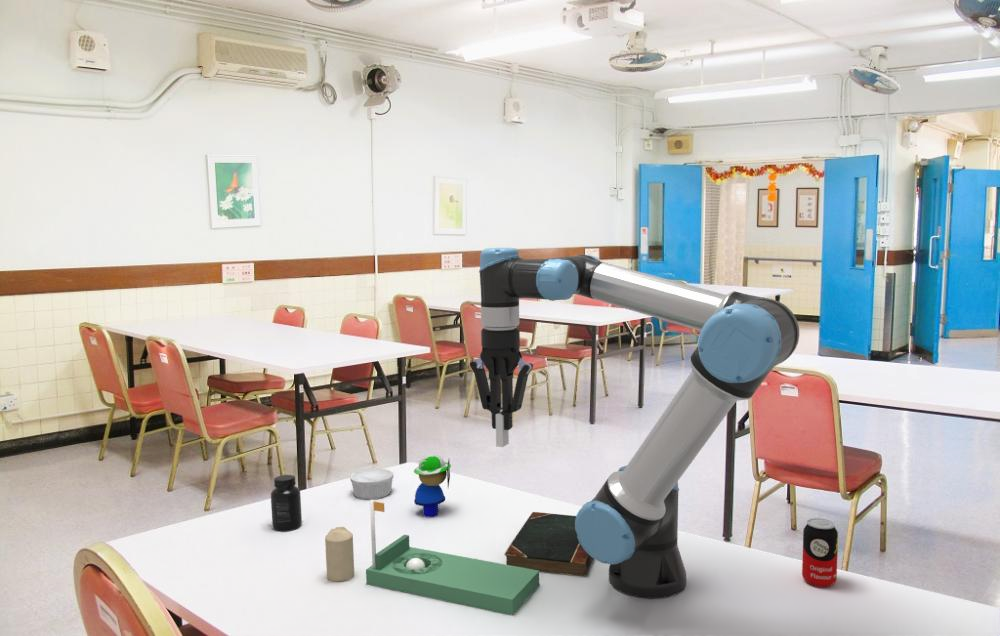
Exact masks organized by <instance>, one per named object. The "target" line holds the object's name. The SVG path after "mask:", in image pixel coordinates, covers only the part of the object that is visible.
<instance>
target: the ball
mask: <svg viewBox="0 0 1000 636" xmlns="http://www.w3.org/2000/svg"><path fill="white" fill-rule="evenodd" d="M406 568H408V569H413V570H415V569H423V568H425V564H424V562H423V561H422V560H421V559H419V558H412V559H410V560H409V561H408V562H407V564H406Z"/></svg>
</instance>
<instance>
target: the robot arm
mask: <svg viewBox="0 0 1000 636" xmlns="http://www.w3.org/2000/svg"><path fill="white" fill-rule="evenodd" d="M519 253H520V252H519V250H518V249H517V248H516V247H488V248H484V249H483V250H482V251H481V252H480V255H479V256H480V257H479V258H480V259H479V270H478V272H479V285H480V325H481V326H482V327H483V328H482V329H481V331H480V334H481V335H480V341H481V342H480V343H481V348H482V349H481V352H480V354H479V357H478V358H477V359H475V360H472V361H470V362H469V367H470V368H471V370H472V372H473V373H474V376H475V382H476V386H477V390H478V395H479V398H480V403H481V406H482V410H483V409H484V410H487V411H489V412H490V413H491V427H492V429H495V446H496V447H499V448H504V447H506V446H507V445H509V444H510V443H509V439H510V438H509V437H510V436H509V434H510V433H509V430H511V429H512V427H513V413H516V412H518V411H520V410H521V409H522V406H523V402H524V397H525V393H526V392H525V391H526V388H527V387H526V386H527V383H528V382H527V381H528V377H529V374H530V373H531V371H532V370H533V368H534V364H533V363H532V362H530V363H529V362H527V361H525V360H524V359H523V356H522V353H521V350H520V345H521V336H520V335H521V334H520V332H521V331H520V329H519V325H520V299H533V300H534V299H535V300H536V299H537V300H549V301H551V302H553V301H567V300H570V299H571V298H572V297H573V295H578V296H581V297H586V298H588V299H592V300H595V301H600V302H602V303H605V304H609V305H613V306H614V307H619V308H623V309H626V310H629V311H633V312H635V313H638V314H643V315H646V316H648V317H649V316H650V317H653V318H656V319H660V320H661V321H662V320H663V321H665V322H669V323H673V324H676V325H679V326H683V327H686V328H689V329H693V330H696V331H699V336H698V340H697V346H696V348H695V350H694V351H693V352H692V354H691V355H690V357H689V363H690V368H691V372H690V373H689V375H688V376H687V378H686V379H685V380H684V382H683V383H682V385H681V386H680V388H679V389H678V391H677V392H676V393H675V395H674V397H673V398H672V399H671V401H670V402H669V404H668V405H667V407H666V408H665V410H664V412H663V413H661V416H660V417H659V418H658V420H657V422H656V423H655V425H654V426H653V427H652V429H651V431H649V433H648V435H646V437H645V439H644V440H643V442H642V443H641V445H640V446H639V448H638V449H637V451H636V452H635V453H634V455H633V457H632V458H631V459H630V460H629V462H628V463H627V465H624V466H621V467H619V468H618V470H617V471H613V472H612V473H611V474H610V475H609V476H608V478H607V479H606V480H605V482H604V483H603V484H602V486H601V487H600V488H599V491H597V493H596V495H595V496H594V498H592V500H589V501H587V502H585V504H583V505H582V507H581V508H580V509H579V510H578V512H577V513H576V515H575V516H576V519H575V530H576V532H577V535H578V536H577V538H578V540H579V542H580V544H581V546H582V547H583V549H584V550H585V551H586V552H587V553H588V554H589V555H590V556H591V557H592V558H593V559H594V560H596V561H597V562H599V563H602V564H605V565H606V564H607V565H609V566H608V567H609V568H608V581H609V584H610V585H611V586H612V587H613V588H614V589H616V590H617V591H619V592H621V593H623V594H625V595H628V596H632V597H637V598H644V599H662V598H668V597H672V596H675V595H678V594H679V593H681V592H683V591H684V590H685V588H687V587H686V586H687V571H686V568H685V563H684V562H683V558H682V555H681V553H680V549H679V545H678V533H679V532H678V527H679V524H678V523H679V491H680V488H679V480H680V479H681V477H682V476H683V474H684V473H685V472H686V471H687V469H688V468H689V467H690V466H691V464H692V463H693V461H695V458H696V457H697V456H698V454H699V453H700V451H701V450H702V449H703V447H704V446H705V445H706V443H707V442H708V441H709V440H710V438H711V436H712V435H713V434H714V432H716V429H718V427H719V426H720V424H721V423H722V421H724V420H725V417H726V416H727V414H728V413H729V412H730V411H731V409H732V408H733V406H734V405H735V403H736V402H737V401H738V402H740V401H747V400H750V399H751V398H752V397H753V395H754V394H755V393H756V391H757V390H758V389H759V388H760V386H761V385H762V383H763V382H764V381H765V380H766V379H767V377H768V375H769V374H770V373H771V371H772V370H774V368H775V367H777V366H778V365H780V364H783V362H785V361H786V360H788V358H790V357H791V356H792V355H793V353H794V352H795V351H796V348H797V346H798V344H799V341H800V327H799V322H798V320H797V318H796V316H795V314H794V313H793V311H792V310H791V309H790V308H789V307H788V306H787V305H785V304H784V303H782V302H780V301H779V300H775V299H773V298H767V297H761V296H757V295H753V294H747V293H742V292H740V291H739V292H738V291H735V290H732V291H731V292H729V293H727V294H724V293H721V292H718V291H717V292H716V291H712V290H709V289H706V288H702V287H697V286H695V285H690V284H686V283H683V282H679V281H675V280H671V279H668V278H664V277H660V276H658V275H657V276H656V275H653V274H649V273H646V272H642V271H639V270H633V269H630V268H626V267H623V266H619V265H615V264H612V263H608V262H605V261H604V262H603V261H601V260H600V259H599V258H597V257H596V256H594V255H589V254H581V253H580V254H576V255H569V256H560V257H549V258H520V254H519ZM485 367H486V369H485ZM517 367H518V369H517ZM516 369H517V370H518V375H517V377H516V383H515V388H514V390H513V387H514V386H513V379H514V372H515V370H516ZM486 370H487V371H488V376H487V373H486ZM488 379H489V382H488Z"/></svg>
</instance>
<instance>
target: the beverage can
mask: <svg viewBox="0 0 1000 636" xmlns="http://www.w3.org/2000/svg"><path fill="white" fill-rule="evenodd" d="M802 535H803V537H802V559H801V560H802V563H801V565H802V566H801V575H802V578H803V579H804V580H805V582H806V583H808V584H809V585H811V586H814V587H820V588H827V587H830V586H833V584H835V583H836V582H837V578H838V577H837V574H838V555H839V554H838V552H839V551H838V549H839V547H838V546H839V532H838V530H837V528H836V523H835V522H833V521H832V520H829V519H826V518H825V519H824V518H819V517H817V518H815V517H814V518H809V519H807V521H806V525H805V526H804V528H803V534H802Z"/></svg>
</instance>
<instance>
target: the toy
mask: <svg viewBox="0 0 1000 636" xmlns="http://www.w3.org/2000/svg"><path fill="white" fill-rule="evenodd" d="M451 467H452V466H451V464H450V459H448V461H447V462H445V460H444V458H443V457H442V456H441V455H439V454H437V453H427V454H425V455H424V456H422V457H421V458H420V460H419V463H418V466H417V467H415V468H414V470H413V473H414V474H415V475H418V479H419V480H420V482H421V483H420V484H419V485H418V486H417V488H416V491H415V494H414V500H413V501H414V504H415V505H416V506H421V507H422V510H423V511H422V512H423V516H424V517H426V518H433V517H436V516H438V512H439V505H440V504H442V503H444V502H446V496H445V494H444V491H443V488H442V487H441V484H442V483H444V481H446V478H447V481H446V482H447V488H449V485H450V481H451V480H450V479H451V470H450V469H451Z"/></svg>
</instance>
